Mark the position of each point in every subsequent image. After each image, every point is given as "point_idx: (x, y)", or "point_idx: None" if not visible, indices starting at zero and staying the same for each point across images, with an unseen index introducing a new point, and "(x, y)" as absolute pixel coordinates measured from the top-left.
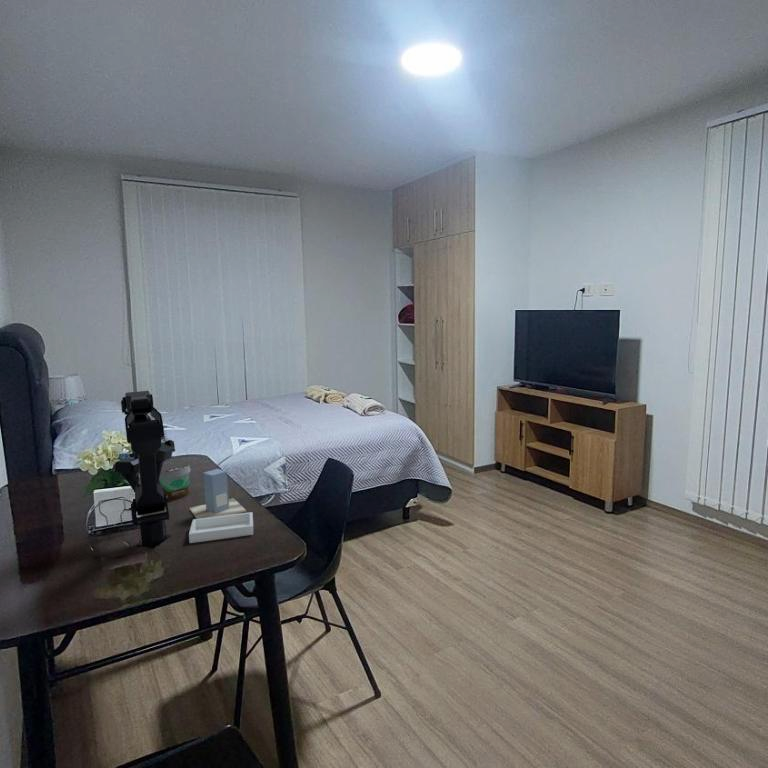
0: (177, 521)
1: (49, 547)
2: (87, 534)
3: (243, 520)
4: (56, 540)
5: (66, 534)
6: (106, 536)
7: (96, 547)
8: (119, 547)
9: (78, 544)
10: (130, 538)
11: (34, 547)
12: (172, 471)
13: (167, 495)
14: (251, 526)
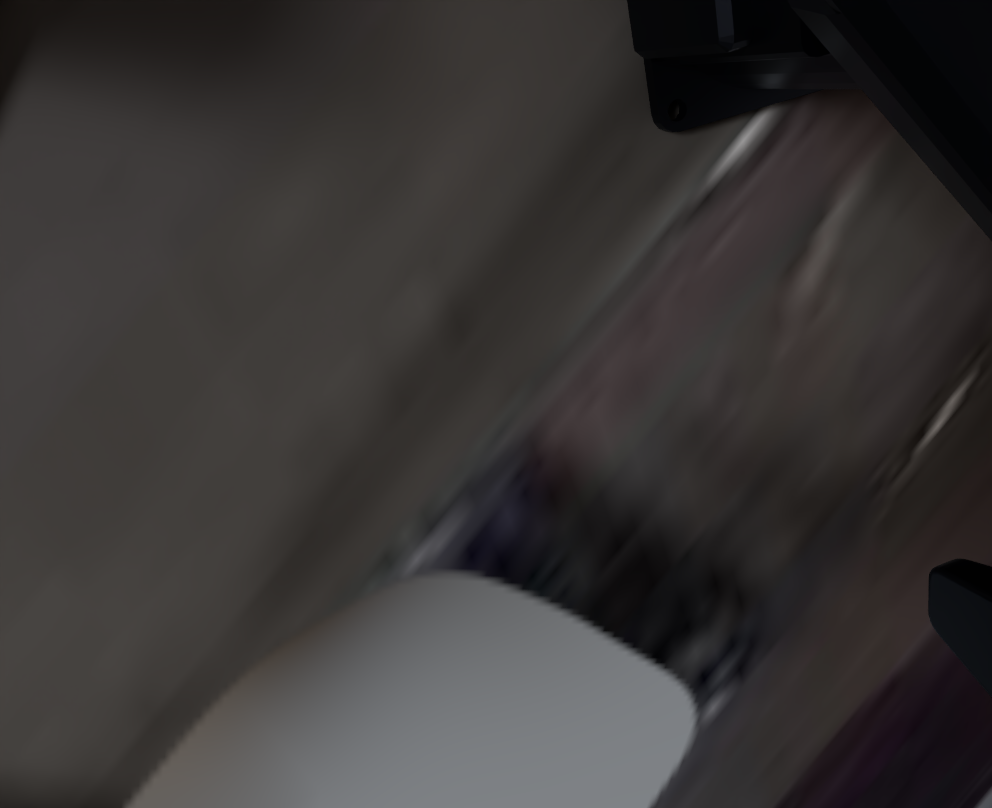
0: (208, 200)
1: (952, 681)
2: (747, 684)
3: None
4: (862, 749)
5: (776, 791)
6: (746, 532)
7: (923, 406)
8: (904, 220)
9: (895, 573)
10: (735, 302)
11: (959, 749)
12: None
13: None
14: None
